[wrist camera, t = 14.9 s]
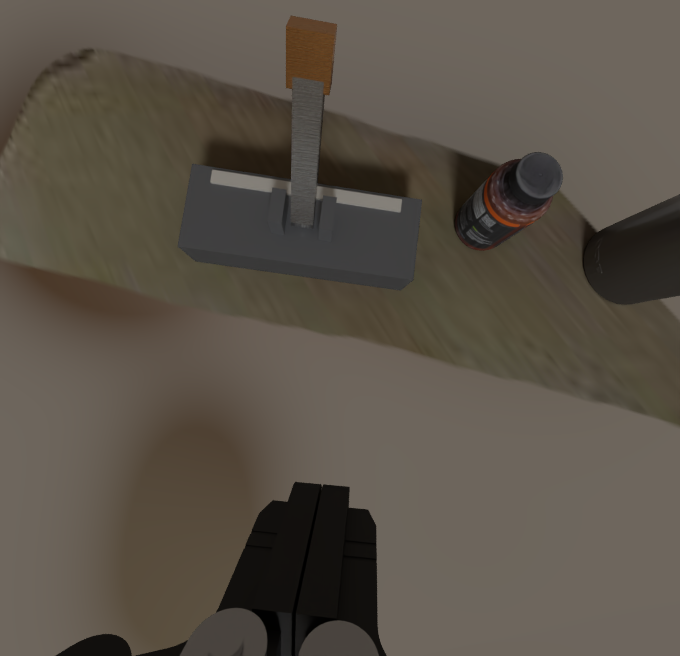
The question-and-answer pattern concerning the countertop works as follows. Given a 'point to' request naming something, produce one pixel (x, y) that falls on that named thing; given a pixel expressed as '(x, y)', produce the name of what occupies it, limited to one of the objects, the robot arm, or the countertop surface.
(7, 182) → the countertop surface
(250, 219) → the block
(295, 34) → the lever
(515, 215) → the supplement bottle
